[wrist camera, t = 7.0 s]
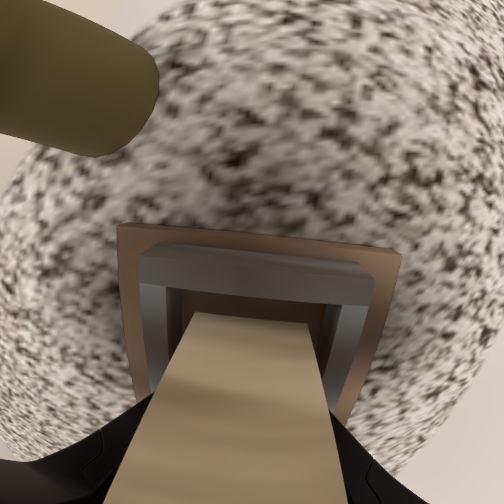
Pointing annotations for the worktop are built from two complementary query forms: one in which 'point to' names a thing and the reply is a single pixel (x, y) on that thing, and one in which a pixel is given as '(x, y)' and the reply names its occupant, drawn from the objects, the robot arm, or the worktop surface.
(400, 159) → the worktop surface
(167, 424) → the maple pin
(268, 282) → the board
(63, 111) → the olive green peg figure
